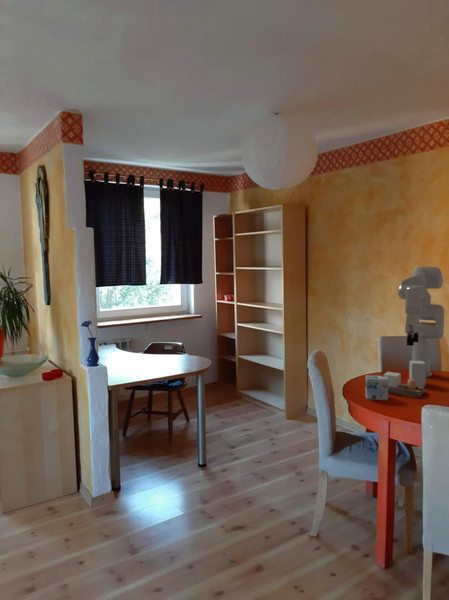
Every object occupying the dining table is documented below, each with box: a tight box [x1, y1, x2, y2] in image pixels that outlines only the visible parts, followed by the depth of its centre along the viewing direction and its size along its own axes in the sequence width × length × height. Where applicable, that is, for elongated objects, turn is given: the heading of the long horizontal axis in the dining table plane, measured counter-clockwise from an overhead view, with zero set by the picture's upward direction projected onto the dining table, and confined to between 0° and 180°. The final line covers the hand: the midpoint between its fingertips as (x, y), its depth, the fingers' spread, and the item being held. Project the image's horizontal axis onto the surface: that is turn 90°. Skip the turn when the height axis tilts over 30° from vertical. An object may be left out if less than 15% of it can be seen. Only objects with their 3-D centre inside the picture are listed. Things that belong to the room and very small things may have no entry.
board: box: [388, 382, 426, 399], centre depth 242 cm, size 12×20×3 cm, turn 55°
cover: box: [383, 371, 402, 388], centre depth 244 cm, size 7×7×6 cm
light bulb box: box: [364, 375, 389, 401], centre depth 233 cm, size 11×7×11 cm, turn 80°
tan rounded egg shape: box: [407, 378, 416, 390], centre depth 239 cm, size 4×4×7 cm
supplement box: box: [408, 360, 427, 387], centre depth 255 cm, size 7×7×13 cm
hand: (412, 343), depth 236 cm, fingers open, 9 cm apart
